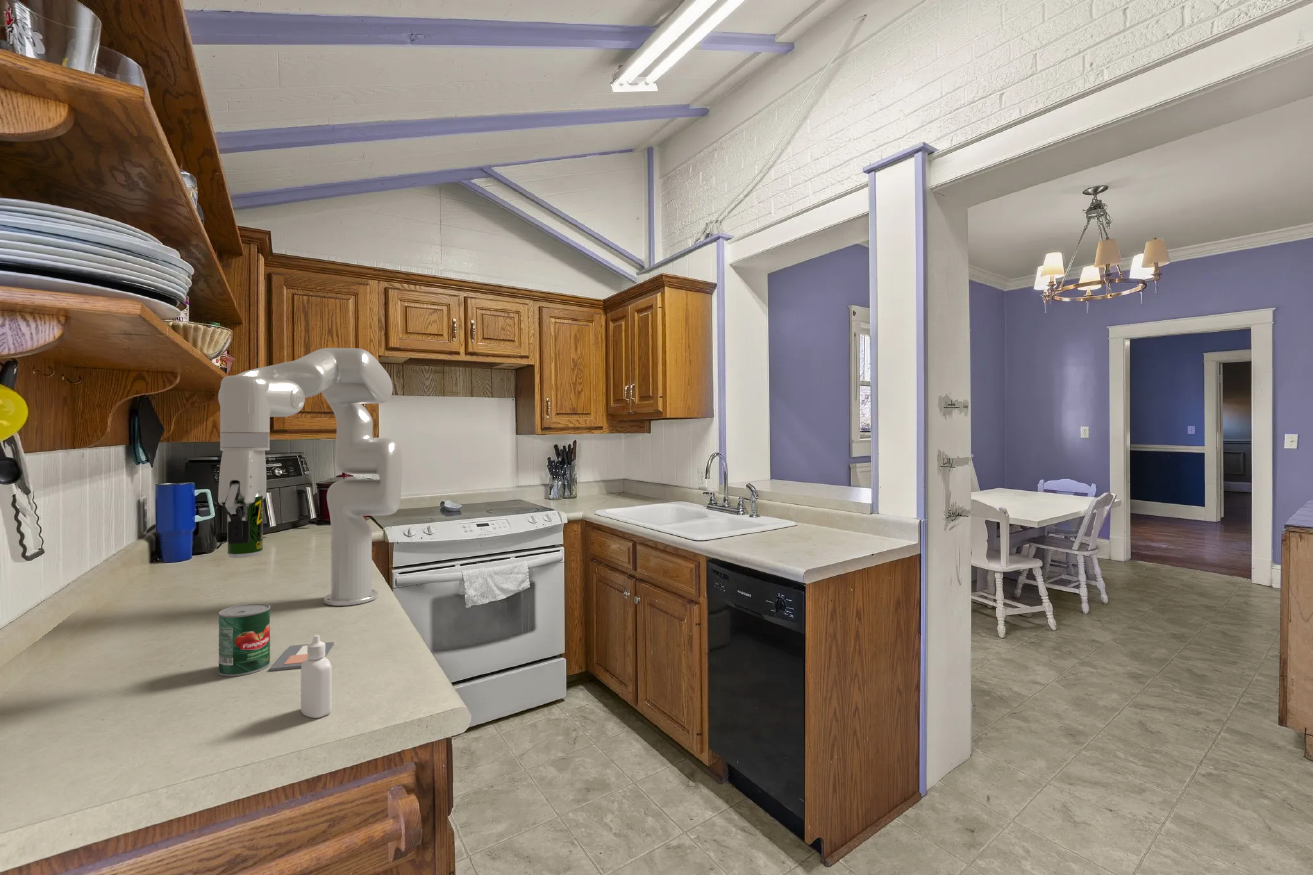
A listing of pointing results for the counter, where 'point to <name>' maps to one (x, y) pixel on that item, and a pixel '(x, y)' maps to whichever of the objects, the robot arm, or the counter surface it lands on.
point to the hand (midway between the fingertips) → (245, 539)
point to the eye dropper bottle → (316, 681)
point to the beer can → (256, 532)
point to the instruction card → (295, 657)
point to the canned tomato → (244, 639)
